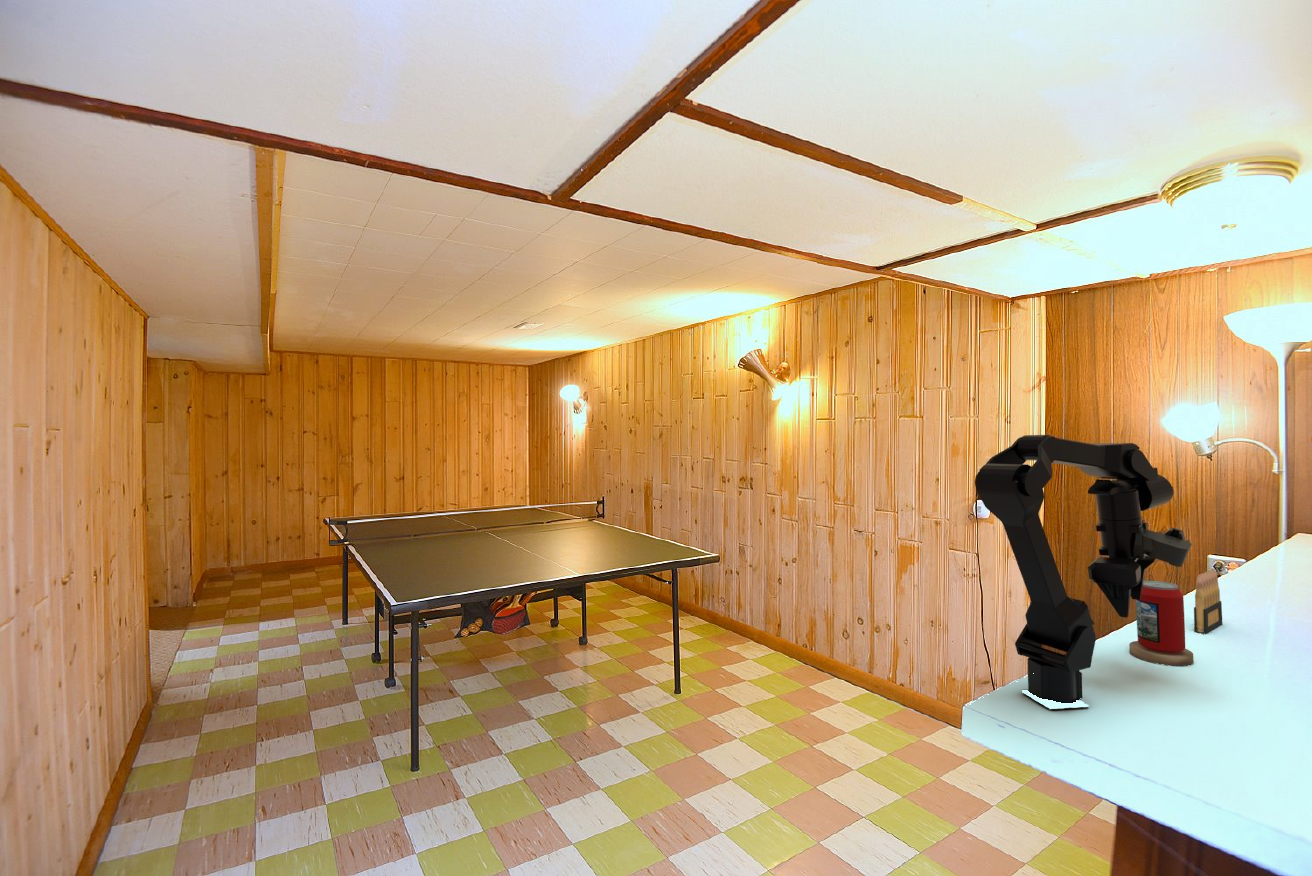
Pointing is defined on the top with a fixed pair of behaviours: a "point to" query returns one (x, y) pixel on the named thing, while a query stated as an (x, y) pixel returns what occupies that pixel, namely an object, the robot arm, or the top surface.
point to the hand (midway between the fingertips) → (1130, 608)
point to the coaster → (1161, 656)
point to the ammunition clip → (1207, 603)
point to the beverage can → (1161, 617)
